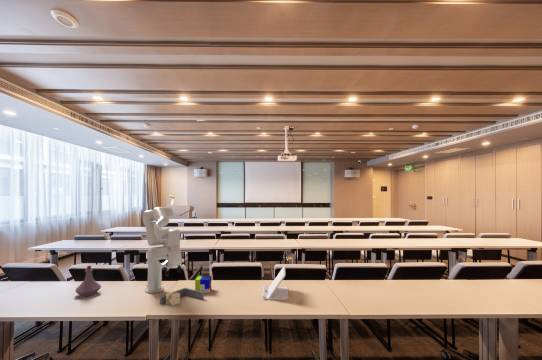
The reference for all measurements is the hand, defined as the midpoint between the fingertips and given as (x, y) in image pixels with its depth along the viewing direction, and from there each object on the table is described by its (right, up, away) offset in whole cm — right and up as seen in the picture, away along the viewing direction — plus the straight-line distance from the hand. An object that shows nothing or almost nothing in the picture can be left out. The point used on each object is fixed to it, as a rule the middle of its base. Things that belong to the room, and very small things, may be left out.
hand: (173, 274), depth 186 cm
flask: (-66, -20, +16) cm, 71 cm away
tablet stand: (+68, -20, +18) cm, 73 cm away
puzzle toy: (+15, -20, +22) cm, 33 cm away
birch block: (+1, -18, -2) cm, 18 cm away
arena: (+6, -19, +1) cm, 19 cm away
